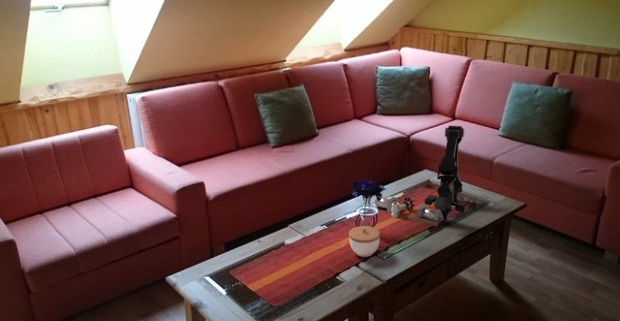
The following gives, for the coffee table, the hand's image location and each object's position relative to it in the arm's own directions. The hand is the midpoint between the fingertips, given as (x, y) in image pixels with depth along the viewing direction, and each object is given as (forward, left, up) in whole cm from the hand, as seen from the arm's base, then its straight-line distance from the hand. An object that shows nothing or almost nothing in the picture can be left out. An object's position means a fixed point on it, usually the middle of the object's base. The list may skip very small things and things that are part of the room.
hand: (445, 220), depth 237 cm
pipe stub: (0, -32, -2) cm, 32 cm away
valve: (+1, -22, -2) cm, 22 cm away
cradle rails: (0, -10, -2) cm, 10 cm away
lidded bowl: (+42, -17, -2) cm, 46 cm away
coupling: (0, -7, -2) cm, 8 cm away
